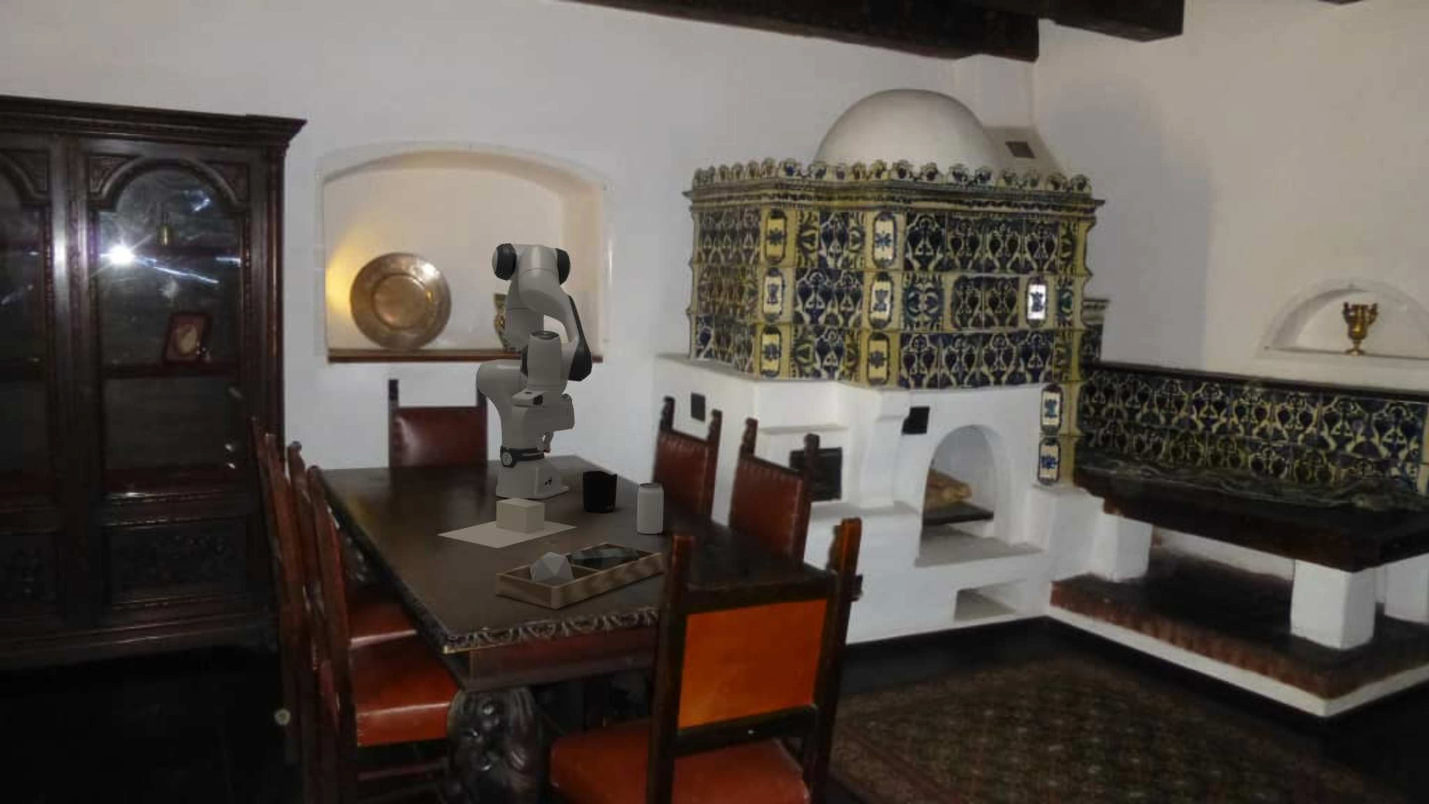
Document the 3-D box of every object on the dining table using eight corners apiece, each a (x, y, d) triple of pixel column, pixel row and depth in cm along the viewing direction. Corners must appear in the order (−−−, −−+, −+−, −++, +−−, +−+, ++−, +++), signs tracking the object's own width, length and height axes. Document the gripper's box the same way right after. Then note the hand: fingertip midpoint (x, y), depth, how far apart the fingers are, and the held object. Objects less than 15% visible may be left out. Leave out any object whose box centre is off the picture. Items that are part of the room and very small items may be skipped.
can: (666, 530, 271) (667, 483, 270) (656, 536, 265) (658, 488, 264) (642, 528, 273) (643, 481, 272) (632, 533, 267) (633, 485, 266)
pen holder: (583, 513, 287) (584, 477, 286) (580, 506, 297) (581, 470, 295) (618, 513, 289) (619, 476, 288) (614, 506, 299) (615, 470, 297)
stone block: (568, 569, 231) (569, 546, 231) (632, 568, 235) (633, 545, 234) (572, 580, 223) (573, 556, 222) (639, 578, 226) (639, 555, 226)
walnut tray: (605, 559, 241) (605, 541, 241) (662, 571, 233) (662, 553, 232) (495, 593, 213) (495, 574, 212) (555, 609, 204) (556, 588, 204)
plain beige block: (514, 522, 272) (514, 497, 272) (544, 528, 267) (544, 503, 266) (496, 527, 267) (496, 501, 266) (526, 533, 262) (526, 507, 261)
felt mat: (518, 517, 281) (518, 515, 281) (577, 528, 270) (577, 526, 270) (437, 536, 257) (437, 534, 257) (497, 549, 247) (497, 548, 247)
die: (541, 587, 220) (518, 555, 215) (578, 567, 220) (556, 535, 215) (546, 612, 213) (523, 580, 208) (585, 592, 213) (562, 559, 208)
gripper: (562, 391, 281) (561, 444, 282) (506, 397, 264) (506, 453, 265) (580, 393, 277) (579, 446, 279) (525, 399, 260) (525, 456, 262)
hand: (543, 450), depth 272 cm, fingers closed
